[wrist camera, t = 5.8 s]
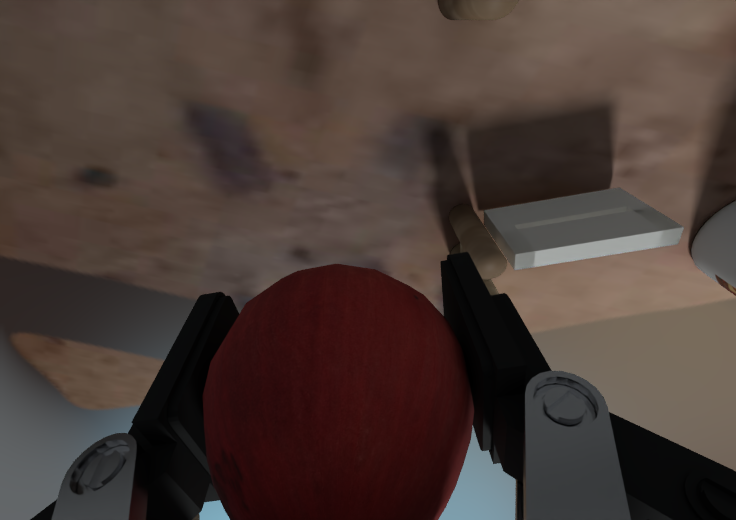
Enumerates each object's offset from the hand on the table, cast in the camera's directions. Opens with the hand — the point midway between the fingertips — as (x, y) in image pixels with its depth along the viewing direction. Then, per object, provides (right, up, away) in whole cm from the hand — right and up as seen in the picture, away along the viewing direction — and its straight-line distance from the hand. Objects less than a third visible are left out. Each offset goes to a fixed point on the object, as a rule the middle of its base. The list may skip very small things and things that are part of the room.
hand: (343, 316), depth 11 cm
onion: (0, +1, +1) cm, 1 cm away
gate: (+14, +6, +17) cm, 23 cm away
